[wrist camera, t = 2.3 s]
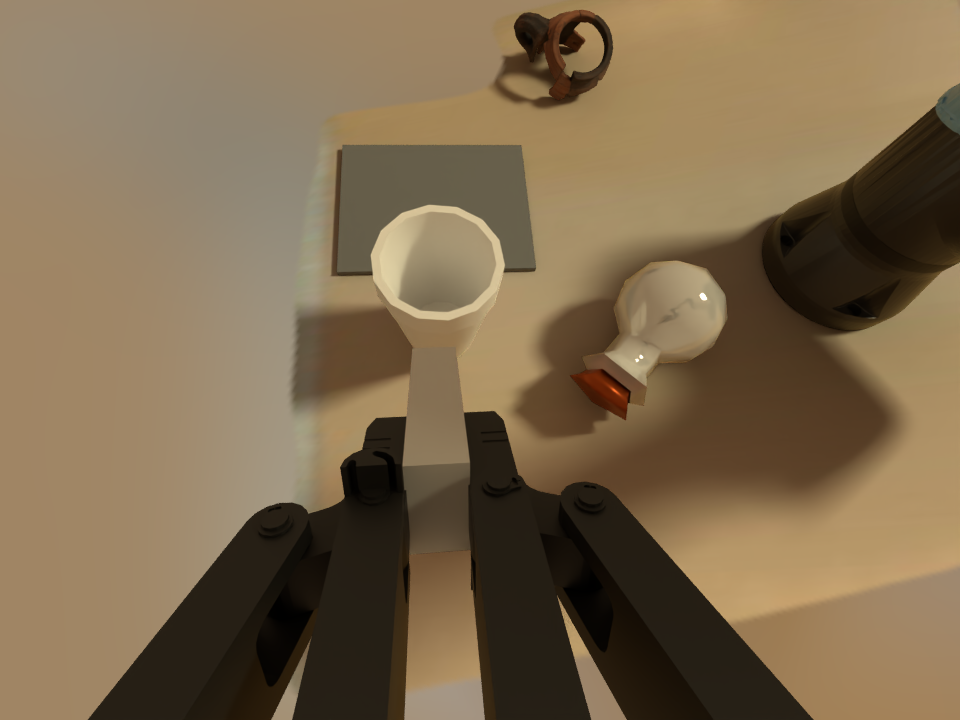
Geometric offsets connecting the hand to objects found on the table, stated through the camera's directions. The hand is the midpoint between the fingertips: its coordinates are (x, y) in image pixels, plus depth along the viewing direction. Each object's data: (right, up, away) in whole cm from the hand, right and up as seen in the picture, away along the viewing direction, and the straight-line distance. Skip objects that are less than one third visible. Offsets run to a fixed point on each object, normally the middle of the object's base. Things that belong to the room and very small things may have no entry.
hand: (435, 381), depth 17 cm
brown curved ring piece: (+11, +37, +41) cm, 56 cm away
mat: (-3, +17, +33) cm, 37 cm away
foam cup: (-2, +3, +28) cm, 29 cm away
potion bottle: (+17, +1, +29) cm, 33 cm away
